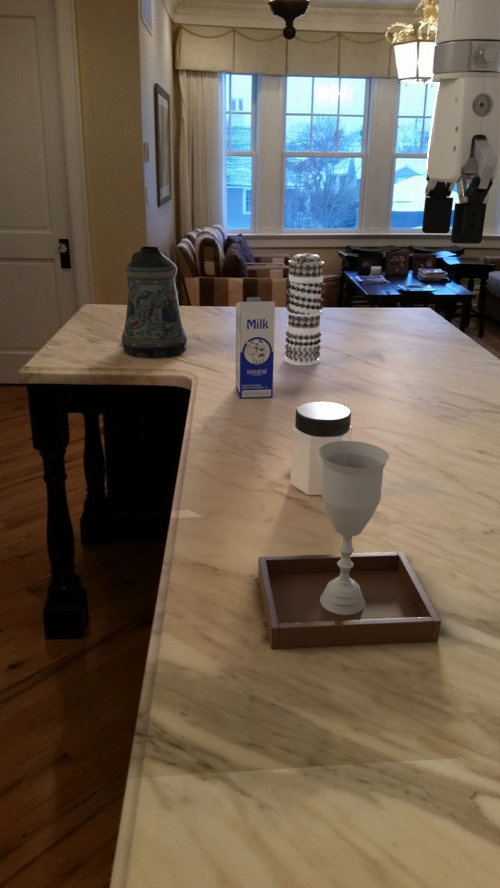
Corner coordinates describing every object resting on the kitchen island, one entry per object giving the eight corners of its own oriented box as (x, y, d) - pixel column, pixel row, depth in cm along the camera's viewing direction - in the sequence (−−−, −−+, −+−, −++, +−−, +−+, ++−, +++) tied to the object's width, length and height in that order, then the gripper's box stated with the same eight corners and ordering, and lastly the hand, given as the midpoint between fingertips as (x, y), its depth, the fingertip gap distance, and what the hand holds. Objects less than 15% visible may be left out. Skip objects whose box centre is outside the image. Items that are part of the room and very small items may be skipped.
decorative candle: (288, 366, 166) (292, 258, 156) (279, 356, 174) (282, 252, 164) (325, 365, 168) (332, 257, 158) (314, 354, 176) (319, 251, 166)
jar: (292, 496, 104) (295, 420, 99) (287, 473, 111) (290, 401, 107) (353, 496, 104) (359, 420, 99) (344, 472, 112) (349, 401, 107)
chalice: (298, 604, 78) (305, 455, 71) (328, 576, 83) (337, 435, 76) (358, 628, 74) (371, 474, 67) (385, 597, 80) (400, 451, 73)
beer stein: (162, 362, 168) (158, 254, 158) (99, 351, 177) (91, 248, 167) (200, 347, 181) (198, 247, 171) (140, 337, 190) (135, 241, 180)
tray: (401, 569, 86) (403, 551, 85) (438, 641, 74) (441, 620, 73) (258, 575, 85) (258, 556, 84) (271, 649, 72) (271, 628, 71)
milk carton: (239, 398, 144) (240, 301, 136) (234, 388, 150) (235, 294, 142) (273, 397, 145) (276, 300, 137) (267, 387, 151) (269, 294, 144)
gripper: (544, 56, 65) (515, 248, 71) (473, 74, 81) (454, 229, 87) (465, 54, 64) (443, 247, 71) (409, 73, 80) (395, 229, 87)
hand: (449, 237), depth 79 cm, fingers open, 9 cm apart
